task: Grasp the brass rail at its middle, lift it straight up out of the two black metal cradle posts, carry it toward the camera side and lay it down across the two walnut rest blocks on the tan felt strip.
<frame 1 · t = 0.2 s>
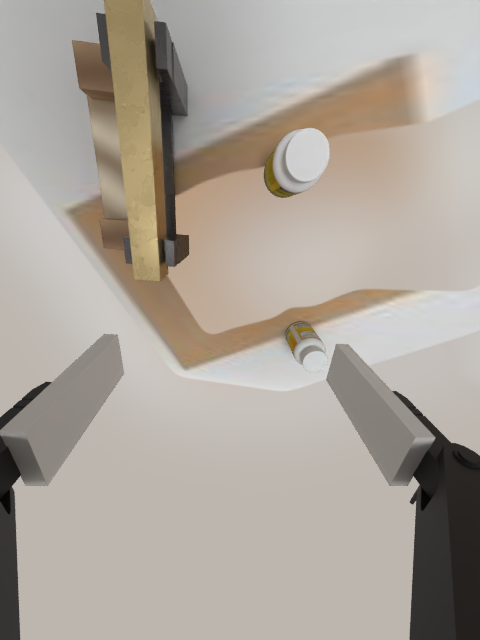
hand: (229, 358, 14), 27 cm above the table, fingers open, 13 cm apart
rest: (124, 166, 33), on the table
supplement bottle: (298, 333, 45), on the table
rack: (167, 179, 33), on the table
rail: (149, 167, 26), point 8 cm above the table, touching rack
pill bottle: (283, 174, 34), on the table
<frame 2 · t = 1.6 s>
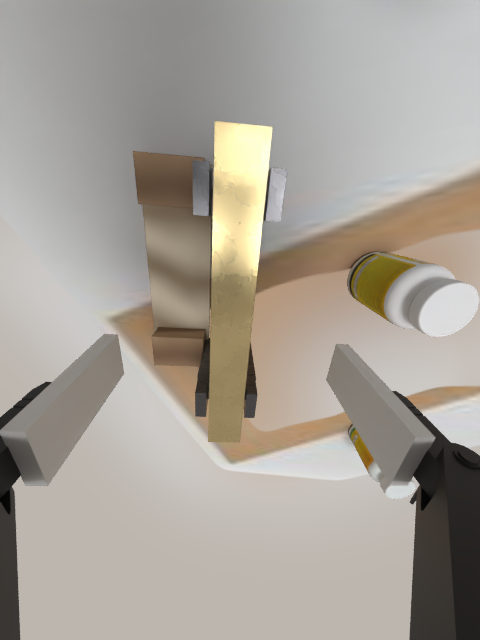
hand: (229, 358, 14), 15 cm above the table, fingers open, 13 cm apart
rest: (180, 273, 27), on the table
supplement bottle: (362, 428, 39), on the table
rack: (230, 284, 28), on the table
rail: (230, 309, 20), point 8 cm above the table, touching rack
pill bottle: (369, 276, 28), on the table
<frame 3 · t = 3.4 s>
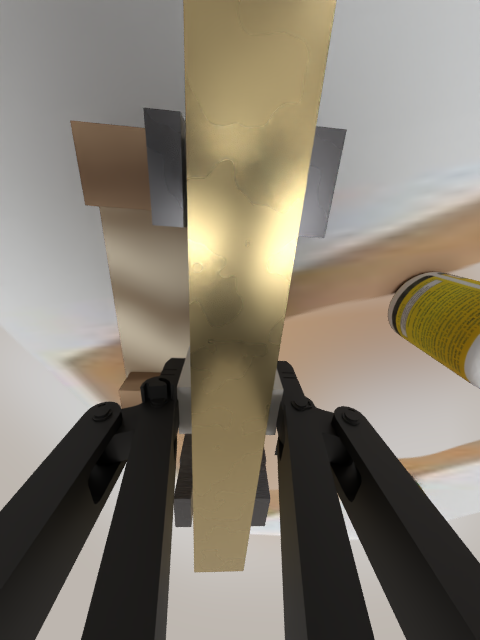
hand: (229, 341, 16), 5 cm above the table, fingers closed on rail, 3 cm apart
rest: (159, 301, 19), on the table
rack: (229, 316, 20), on the table
rail: (229, 371, 13), point 8 cm above the table, touching gripper
pill bottle: (417, 304, 21), on the table
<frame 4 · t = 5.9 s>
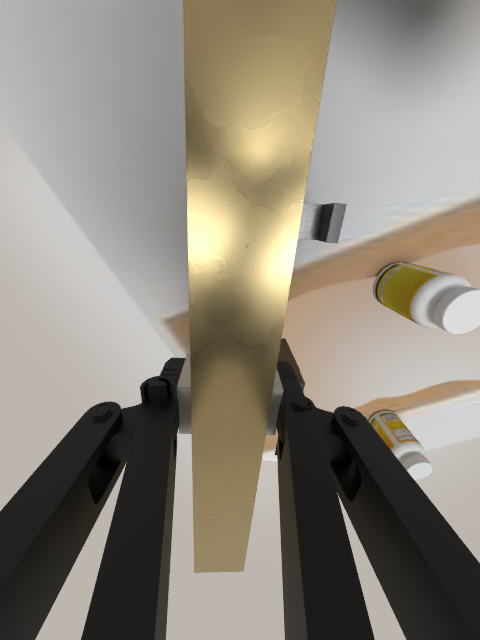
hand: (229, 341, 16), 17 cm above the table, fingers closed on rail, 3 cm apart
supplement bottle: (380, 419, 43), on the table
rack: (272, 290, 32), on the table
rail: (229, 371, 13), point 20 cm above the table, touching gripper
pill bottle: (392, 283, 32), on the table
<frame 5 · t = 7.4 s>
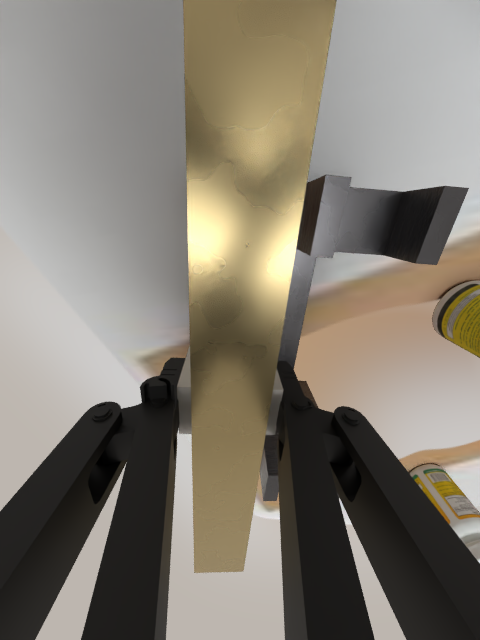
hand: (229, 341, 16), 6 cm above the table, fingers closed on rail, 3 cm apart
supplement bottle: (422, 473, 34), on the table
rack: (290, 319, 23), on the table
rail: (229, 371, 13), point 10 cm above the table, touching gripper
pill bottle: (458, 308, 23), on the table
when the fingers open (2 cm above the table, at t = 8.6 s): rail drops 2 cm, resting on rest.
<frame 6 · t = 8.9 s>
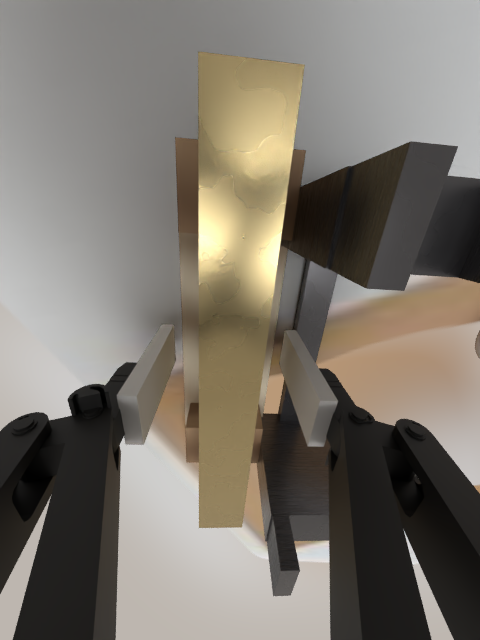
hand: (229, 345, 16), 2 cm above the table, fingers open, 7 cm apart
rest: (229, 330, 18), on the table
rack: (303, 344, 18), on the table
rail: (229, 350, 15), point 3 cm above the table, touching rest
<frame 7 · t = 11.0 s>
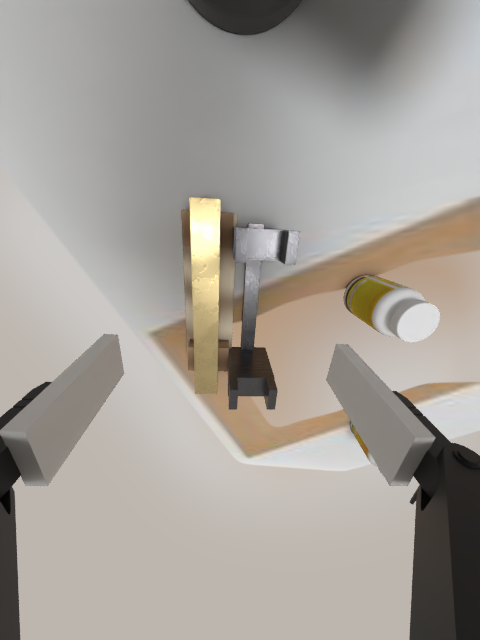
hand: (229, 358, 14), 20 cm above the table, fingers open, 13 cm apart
rest: (209, 295, 33), on the table
supplement bottle: (362, 422, 45), on the table
rack: (249, 303, 34), on the table
rail: (208, 302, 31), point 3 cm above the table, touching rest
pill bottle: (361, 294, 35), on the table
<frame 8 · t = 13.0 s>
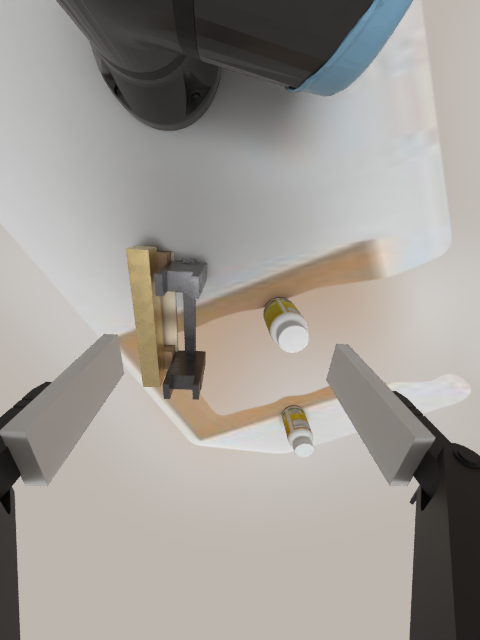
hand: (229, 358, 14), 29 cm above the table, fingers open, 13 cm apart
rest: (157, 310, 43), on the table
supplement bottle: (292, 413, 55), on the table
rack: (190, 317, 44), on the table
rail: (153, 317, 40), point 3 cm above the table, touching rest
pill bottle: (278, 311, 44), on the table
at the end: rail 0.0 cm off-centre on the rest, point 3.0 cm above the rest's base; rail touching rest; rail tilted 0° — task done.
